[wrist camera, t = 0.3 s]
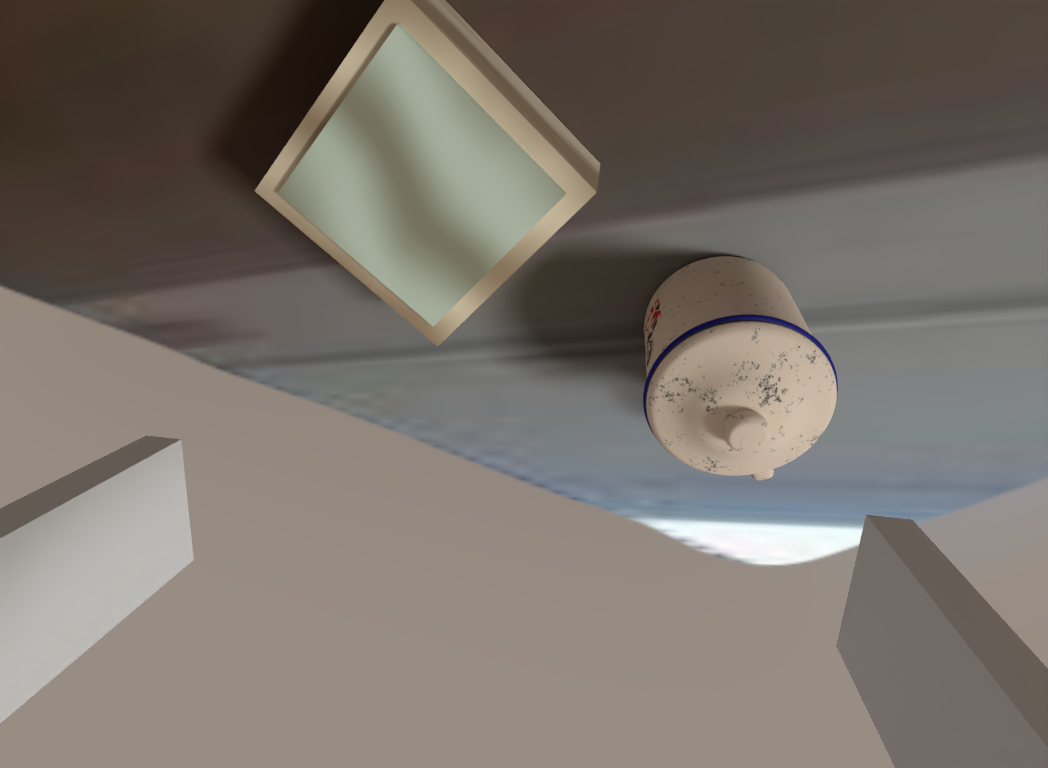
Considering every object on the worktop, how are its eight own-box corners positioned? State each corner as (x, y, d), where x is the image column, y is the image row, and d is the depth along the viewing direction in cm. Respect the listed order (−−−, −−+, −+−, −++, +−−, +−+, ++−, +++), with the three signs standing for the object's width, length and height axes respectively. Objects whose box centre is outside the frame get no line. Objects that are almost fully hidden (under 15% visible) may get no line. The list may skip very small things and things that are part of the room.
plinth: (429, -17, 31) (392, -16, 26) (600, 163, 35) (596, 195, 29) (301, 164, 37) (250, 193, 32) (459, 303, 40) (435, 349, 35)
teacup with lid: (618, 281, 38) (617, 385, 28) (777, 226, 35) (837, 321, 25) (678, 436, 43) (695, 569, 33) (820, 399, 40) (884, 533, 31)
